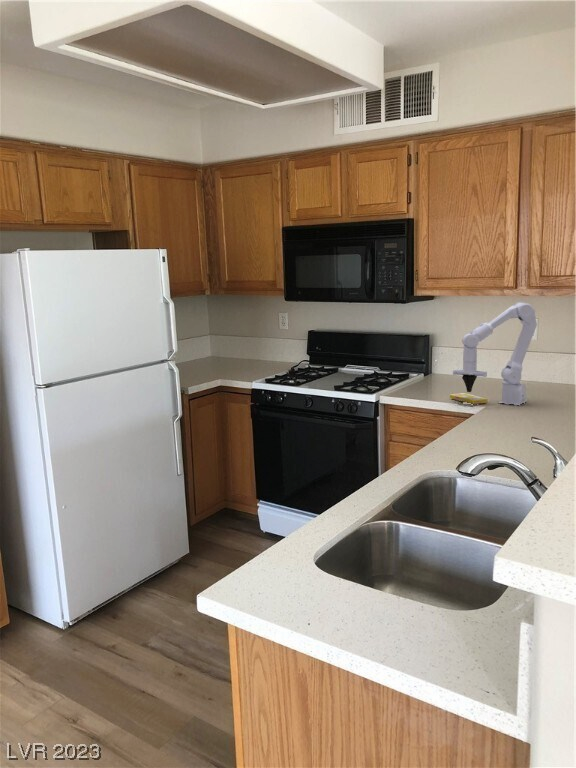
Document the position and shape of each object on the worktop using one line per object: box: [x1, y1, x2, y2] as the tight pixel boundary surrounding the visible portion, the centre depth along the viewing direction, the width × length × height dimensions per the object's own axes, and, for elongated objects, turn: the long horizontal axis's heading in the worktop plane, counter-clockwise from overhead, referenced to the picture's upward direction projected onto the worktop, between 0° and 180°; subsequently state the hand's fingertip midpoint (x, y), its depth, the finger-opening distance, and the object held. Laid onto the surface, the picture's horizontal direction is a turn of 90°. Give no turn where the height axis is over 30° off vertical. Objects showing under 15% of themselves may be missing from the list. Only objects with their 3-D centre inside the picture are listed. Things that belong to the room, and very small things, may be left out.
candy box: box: [449, 392, 489, 405], centre depth 276 cm, size 16×2×8 cm
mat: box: [457, 402, 478, 408], centre depth 271 cm, size 7×10×1 cm
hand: (469, 391), depth 271 cm, fingers closed
